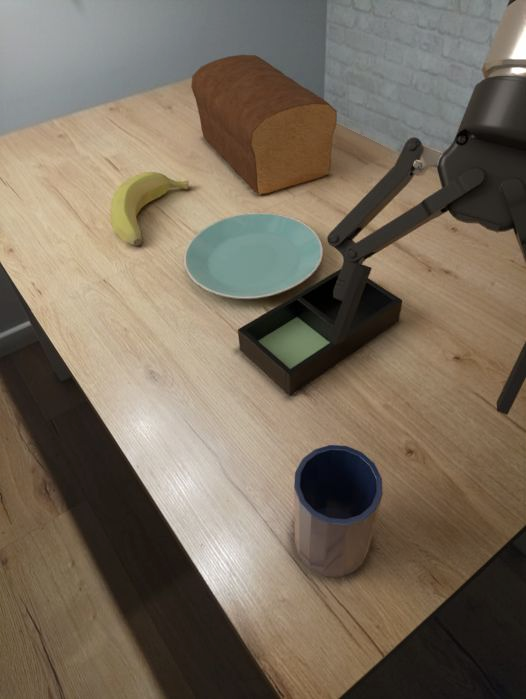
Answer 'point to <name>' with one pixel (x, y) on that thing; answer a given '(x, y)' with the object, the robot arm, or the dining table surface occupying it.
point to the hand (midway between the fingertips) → (414, 373)
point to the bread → (263, 122)
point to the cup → (335, 508)
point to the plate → (253, 255)
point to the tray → (314, 332)
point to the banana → (137, 202)
